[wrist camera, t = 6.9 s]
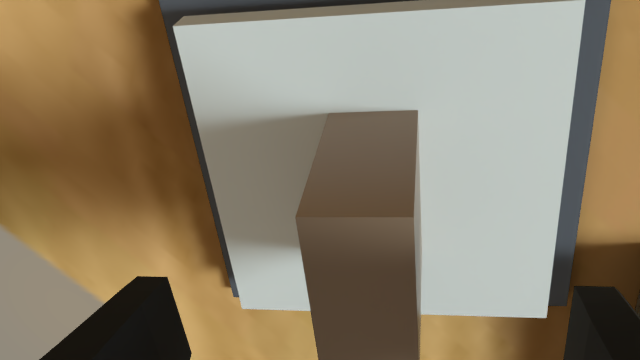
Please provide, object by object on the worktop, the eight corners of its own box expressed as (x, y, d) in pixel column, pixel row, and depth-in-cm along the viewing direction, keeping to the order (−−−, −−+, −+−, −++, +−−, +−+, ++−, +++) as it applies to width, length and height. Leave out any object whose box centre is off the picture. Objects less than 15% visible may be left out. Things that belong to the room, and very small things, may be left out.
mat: (563, 296, 17) (566, 306, 17) (237, 288, 19) (234, 297, 19) (614, -66, 12) (620, -62, 12) (159, -29, 14) (152, -24, 14)
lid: (539, 284, 17) (577, 458, 12) (253, 278, 18) (197, 430, 14) (572, -18, 12) (649, 85, 8) (192, 8, 14) (83, 106, 10)
